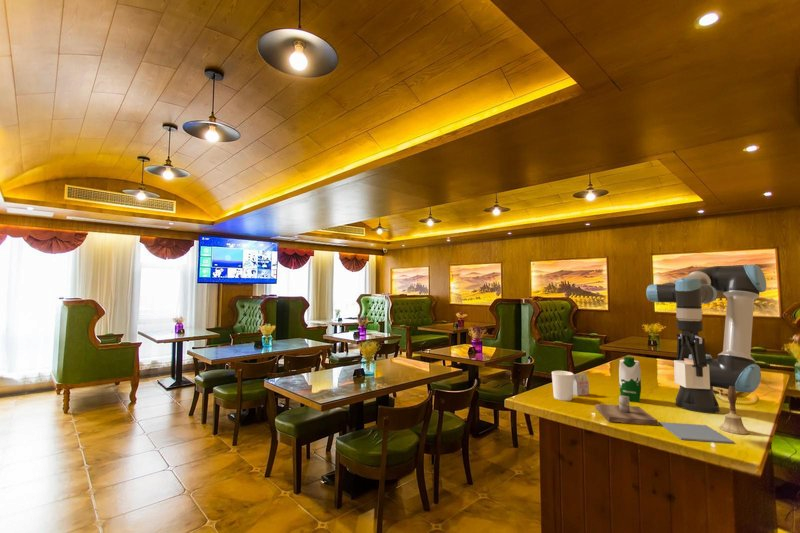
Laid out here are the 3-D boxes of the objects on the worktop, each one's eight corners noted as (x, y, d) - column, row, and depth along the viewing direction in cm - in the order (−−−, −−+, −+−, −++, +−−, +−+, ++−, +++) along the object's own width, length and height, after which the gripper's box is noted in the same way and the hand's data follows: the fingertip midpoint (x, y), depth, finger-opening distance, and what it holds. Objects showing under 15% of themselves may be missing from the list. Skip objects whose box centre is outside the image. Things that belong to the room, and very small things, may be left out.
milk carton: (619, 400, 175) (618, 357, 177) (620, 395, 183) (618, 354, 184) (641, 403, 171) (640, 359, 172) (641, 398, 178) (640, 356, 180)
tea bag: (572, 394, 186) (571, 373, 187) (583, 393, 188) (583, 372, 188) (577, 396, 182) (576, 375, 183) (589, 395, 184) (588, 374, 185)
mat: (706, 426, 142) (706, 425, 142) (734, 443, 126) (734, 441, 126) (659, 423, 145) (658, 421, 145) (680, 439, 129) (680, 437, 129)
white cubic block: (674, 382, 141) (673, 357, 142) (697, 383, 140) (696, 358, 140) (685, 387, 134) (684, 361, 134) (710, 389, 132) (708, 362, 133)
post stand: (638, 411, 160) (638, 392, 160) (657, 425, 143) (656, 404, 143) (595, 408, 163) (595, 389, 163) (609, 422, 146) (608, 401, 147)
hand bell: (713, 426, 142) (711, 384, 143) (733, 426, 143) (731, 383, 144) (734, 435, 134) (732, 389, 135) (755, 434, 134) (753, 389, 135)
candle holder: (576, 402, 172) (576, 375, 173) (554, 400, 174) (553, 374, 175) (571, 396, 182) (570, 371, 183) (550, 394, 184) (549, 370, 185)
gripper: (718, 322, 127) (721, 390, 126) (685, 318, 147) (688, 377, 146) (693, 321, 129) (696, 389, 127) (664, 317, 149) (666, 375, 147)
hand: (691, 382), depth 137 cm, fingers closed on white cubic block, 8 cm apart
